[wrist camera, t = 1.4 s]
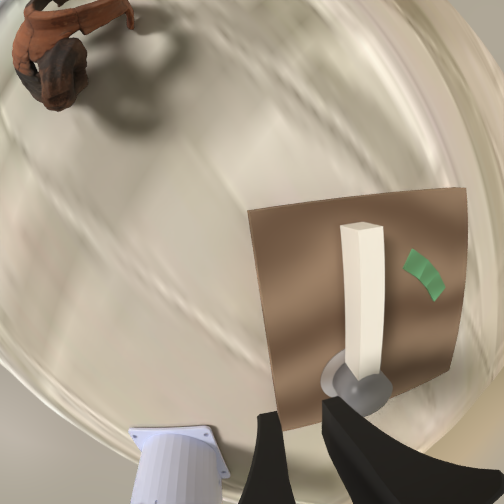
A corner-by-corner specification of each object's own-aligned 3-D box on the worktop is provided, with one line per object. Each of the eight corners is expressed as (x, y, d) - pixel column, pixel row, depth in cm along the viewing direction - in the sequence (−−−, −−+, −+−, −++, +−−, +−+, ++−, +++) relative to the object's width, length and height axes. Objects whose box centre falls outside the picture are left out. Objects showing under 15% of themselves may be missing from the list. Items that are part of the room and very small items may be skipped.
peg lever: (372, 385, 19) (389, 407, 16) (332, 398, 19) (345, 423, 16) (376, 219, 16) (403, 225, 13) (324, 227, 16) (346, 234, 13)
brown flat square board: (441, 363, 22) (450, 371, 21) (278, 420, 21) (282, 433, 19) (454, 187, 18) (467, 187, 17) (247, 210, 17) (249, 212, 16)
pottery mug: (25, 62, 13) (18, -8, 6) (119, 37, 17) (134, -34, 10) (21, 163, 12) (-16, 78, 5) (145, 121, 17) (168, 28, 10)
